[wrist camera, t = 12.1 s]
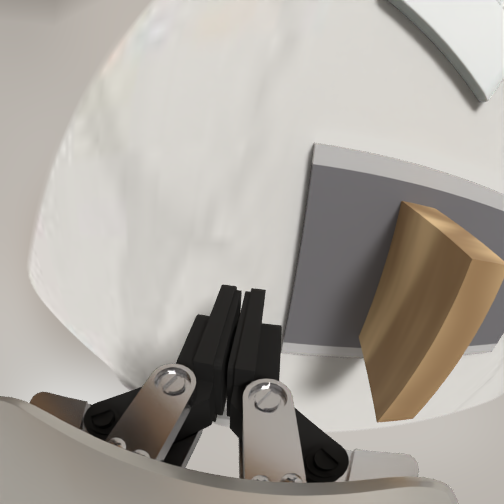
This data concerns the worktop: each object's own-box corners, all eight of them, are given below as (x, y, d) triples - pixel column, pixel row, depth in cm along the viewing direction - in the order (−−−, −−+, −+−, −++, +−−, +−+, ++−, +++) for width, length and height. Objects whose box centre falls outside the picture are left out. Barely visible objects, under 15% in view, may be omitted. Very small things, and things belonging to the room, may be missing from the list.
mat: (546, 215, 10) (551, 217, 10) (489, 347, 16) (491, 351, 16) (313, 142, 12) (315, 143, 12) (281, 346, 18) (281, 352, 17)
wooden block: (434, 208, 12) (508, 265, 6) (387, 338, 16) (412, 418, 10) (401, 200, 12) (472, 258, 6) (358, 337, 16) (376, 422, 10)
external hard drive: (376, -3, 8) (453, -53, 3) (474, 102, 10) (526, 28, 5) (384, -15, 7) (461, -61, 2) (490, 102, 8) (538, 25, 3)
